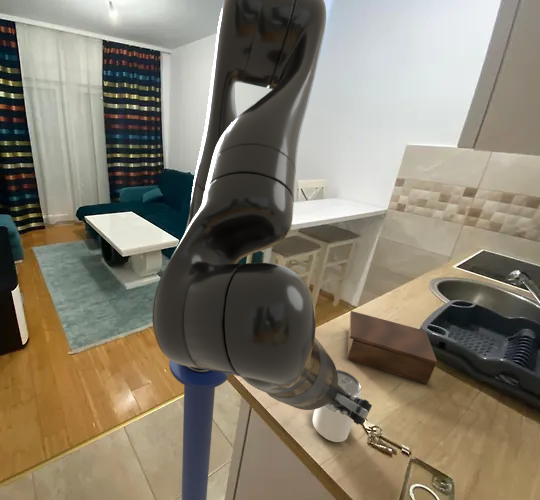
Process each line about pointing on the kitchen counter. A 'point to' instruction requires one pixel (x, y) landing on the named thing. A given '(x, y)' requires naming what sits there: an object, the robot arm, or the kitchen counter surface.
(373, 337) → the tray cover
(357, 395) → the can
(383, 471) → the kitchen counter surface
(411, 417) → the kitchen counter surface
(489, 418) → the kitchen counter surface
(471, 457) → the kitchen counter surface
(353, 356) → the tray box
